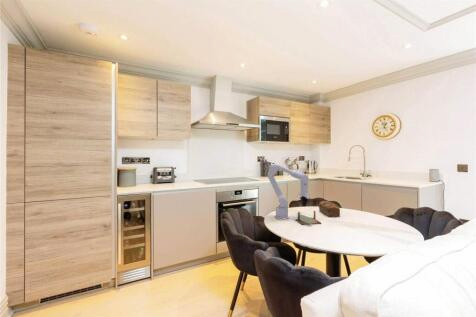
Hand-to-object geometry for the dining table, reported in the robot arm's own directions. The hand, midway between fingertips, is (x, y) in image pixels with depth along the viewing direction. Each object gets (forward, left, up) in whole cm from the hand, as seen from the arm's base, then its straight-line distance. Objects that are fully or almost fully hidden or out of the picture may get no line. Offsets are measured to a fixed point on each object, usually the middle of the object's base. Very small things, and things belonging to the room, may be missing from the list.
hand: (304, 206), depth 182 cm
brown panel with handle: (-2, -11, -9) cm, 15 cm away
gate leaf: (-7, -16, -8) cm, 19 cm away
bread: (+25, +6, -10) cm, 27 cm away
